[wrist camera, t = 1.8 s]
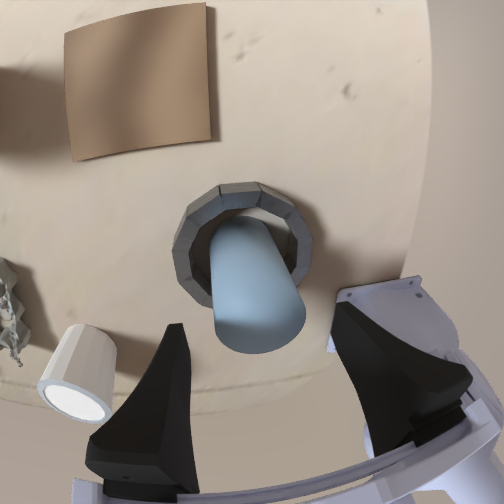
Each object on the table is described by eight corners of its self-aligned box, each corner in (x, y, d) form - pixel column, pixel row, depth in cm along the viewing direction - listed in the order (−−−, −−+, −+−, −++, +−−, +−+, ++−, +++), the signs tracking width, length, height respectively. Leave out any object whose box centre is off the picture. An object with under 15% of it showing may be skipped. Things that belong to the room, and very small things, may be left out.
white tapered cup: (119, 324, 22) (104, 391, 16) (126, 372, 25) (118, 430, 19) (52, 313, 20) (25, 371, 14) (67, 361, 23) (51, 414, 17)
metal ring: (305, 179, 18) (315, 187, 17) (299, 289, 23) (306, 304, 21) (167, 189, 17) (163, 199, 16) (186, 301, 22) (186, 318, 20)
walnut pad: (205, 5, 12) (205, 2, 11) (210, 138, 16) (211, 139, 16) (68, 34, 11) (64, 33, 10) (76, 160, 15) (72, 162, 15)
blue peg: (271, 213, 19) (310, 280, 12) (271, 268, 21) (302, 347, 15) (206, 219, 19) (209, 292, 12) (212, 274, 21) (219, 358, 14)
